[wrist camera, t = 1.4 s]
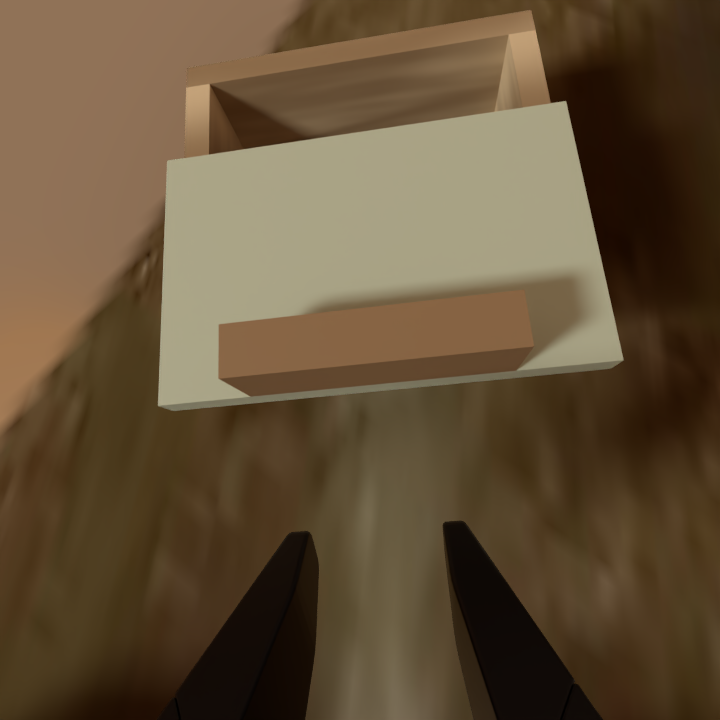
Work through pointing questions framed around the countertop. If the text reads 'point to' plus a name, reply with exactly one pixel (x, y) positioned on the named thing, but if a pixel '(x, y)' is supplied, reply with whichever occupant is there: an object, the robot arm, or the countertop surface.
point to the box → (365, 85)
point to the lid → (382, 263)
